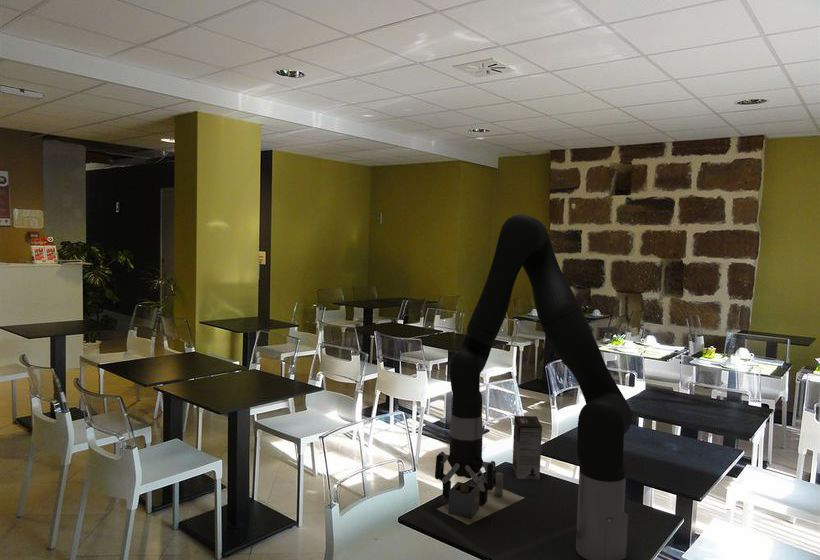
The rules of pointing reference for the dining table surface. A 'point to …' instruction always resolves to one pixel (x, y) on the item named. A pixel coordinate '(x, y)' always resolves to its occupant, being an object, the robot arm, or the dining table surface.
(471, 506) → the collar
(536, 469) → the coffee box
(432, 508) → the dining table surface
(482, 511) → the board
